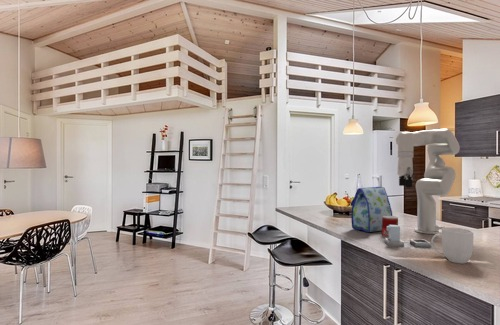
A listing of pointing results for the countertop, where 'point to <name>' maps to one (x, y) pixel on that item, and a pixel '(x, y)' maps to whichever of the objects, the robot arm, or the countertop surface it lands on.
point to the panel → (408, 244)
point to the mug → (455, 244)
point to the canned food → (388, 223)
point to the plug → (394, 232)
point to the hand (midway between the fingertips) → (405, 186)
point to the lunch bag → (370, 208)
